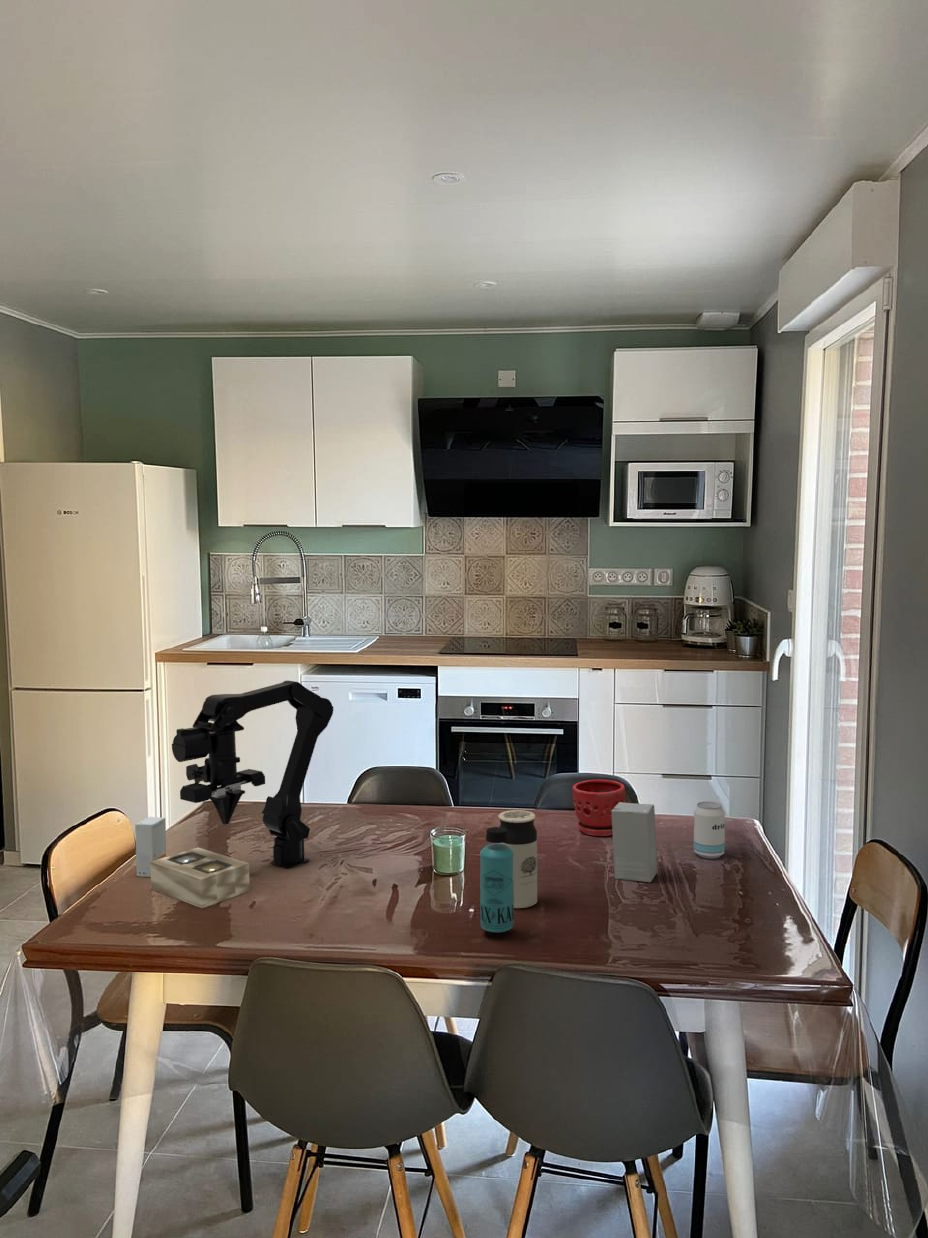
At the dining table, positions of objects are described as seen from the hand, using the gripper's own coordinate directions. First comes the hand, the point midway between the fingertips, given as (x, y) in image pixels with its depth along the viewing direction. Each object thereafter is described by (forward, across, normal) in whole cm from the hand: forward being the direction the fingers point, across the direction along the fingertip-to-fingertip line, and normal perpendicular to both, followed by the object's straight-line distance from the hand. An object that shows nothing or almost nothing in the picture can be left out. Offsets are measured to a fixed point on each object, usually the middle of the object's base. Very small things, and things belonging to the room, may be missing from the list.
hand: (225, 824), depth 201 cm
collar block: (+13, +7, 0) cm, 14 cm away
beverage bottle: (+13, -12, +64) cm, 66 cm away
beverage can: (+14, -77, +78) cm, 110 cm away
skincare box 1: (+13, +7, -18) cm, 23 cm away
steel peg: (+13, +7, -5) cm, 15 cm away
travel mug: (+14, -27, +58) cm, 66 cm away
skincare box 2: (+14, -54, +71) cm, 90 cm away
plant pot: (+14, -78, +48) cm, 93 cm away
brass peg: (+13, +7, +4) cm, 15 cm away
